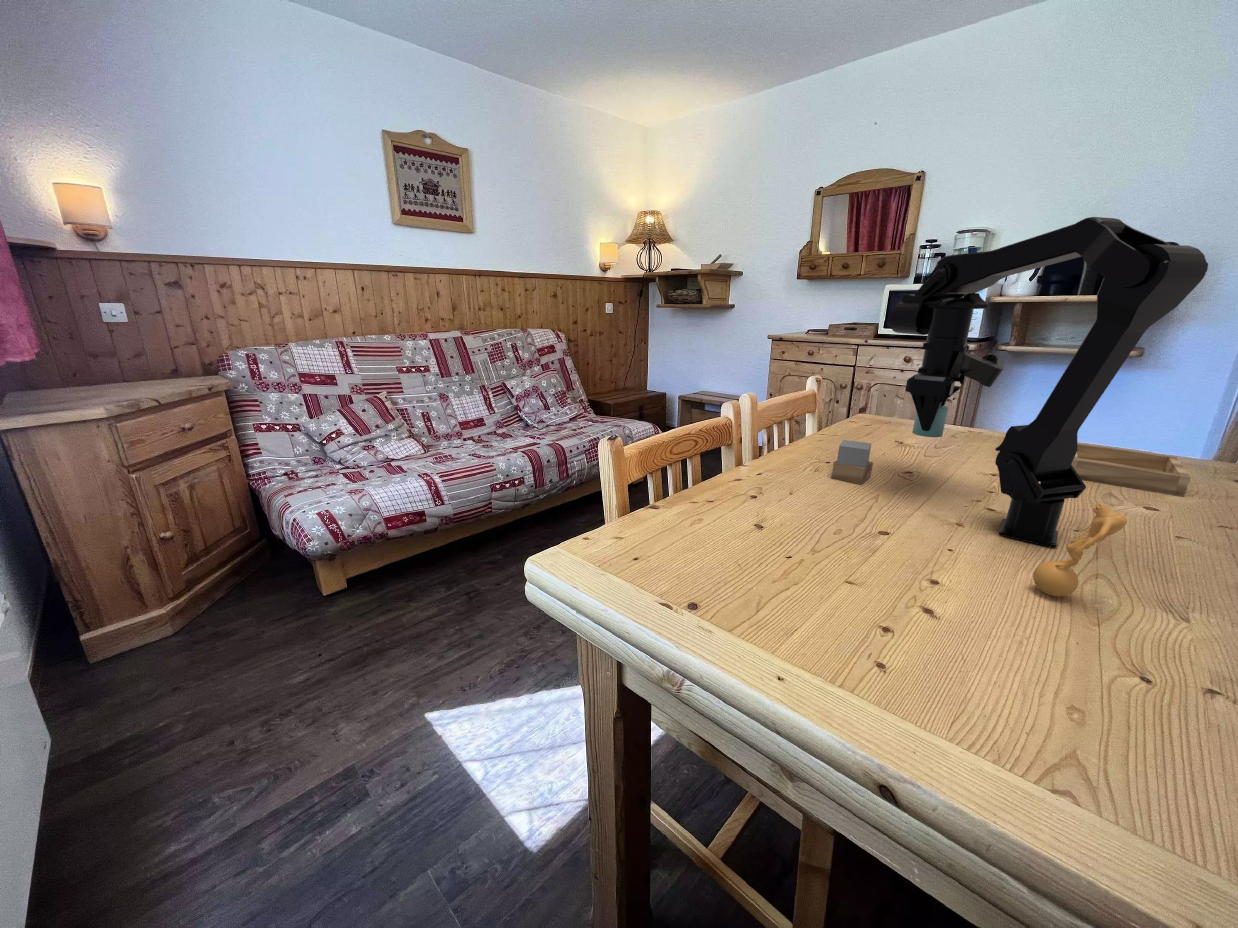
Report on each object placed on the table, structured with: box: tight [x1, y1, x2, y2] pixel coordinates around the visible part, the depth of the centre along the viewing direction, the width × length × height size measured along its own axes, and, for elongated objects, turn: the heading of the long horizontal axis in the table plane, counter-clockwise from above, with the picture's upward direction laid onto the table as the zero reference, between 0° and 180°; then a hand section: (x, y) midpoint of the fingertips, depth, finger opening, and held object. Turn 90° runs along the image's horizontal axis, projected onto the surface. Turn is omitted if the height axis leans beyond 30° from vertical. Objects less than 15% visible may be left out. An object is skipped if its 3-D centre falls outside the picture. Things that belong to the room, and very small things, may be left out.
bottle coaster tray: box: [1071, 443, 1192, 497], centre depth 98 cm, size 16×16×4 cm
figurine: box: [1032, 503, 1128, 597], centre depth 56 cm, size 8×6×12 cm
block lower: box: [831, 460, 874, 486], centre depth 96 cm, size 6×6×4 cm
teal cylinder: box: [912, 405, 949, 438], centre depth 88 cm, size 5×5×5 cm
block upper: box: [836, 439, 872, 468], centre depth 95 cm, size 5×5×4 cm
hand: (928, 428), depth 88 cm, fingers closed on teal cylinder, 5 cm apart
